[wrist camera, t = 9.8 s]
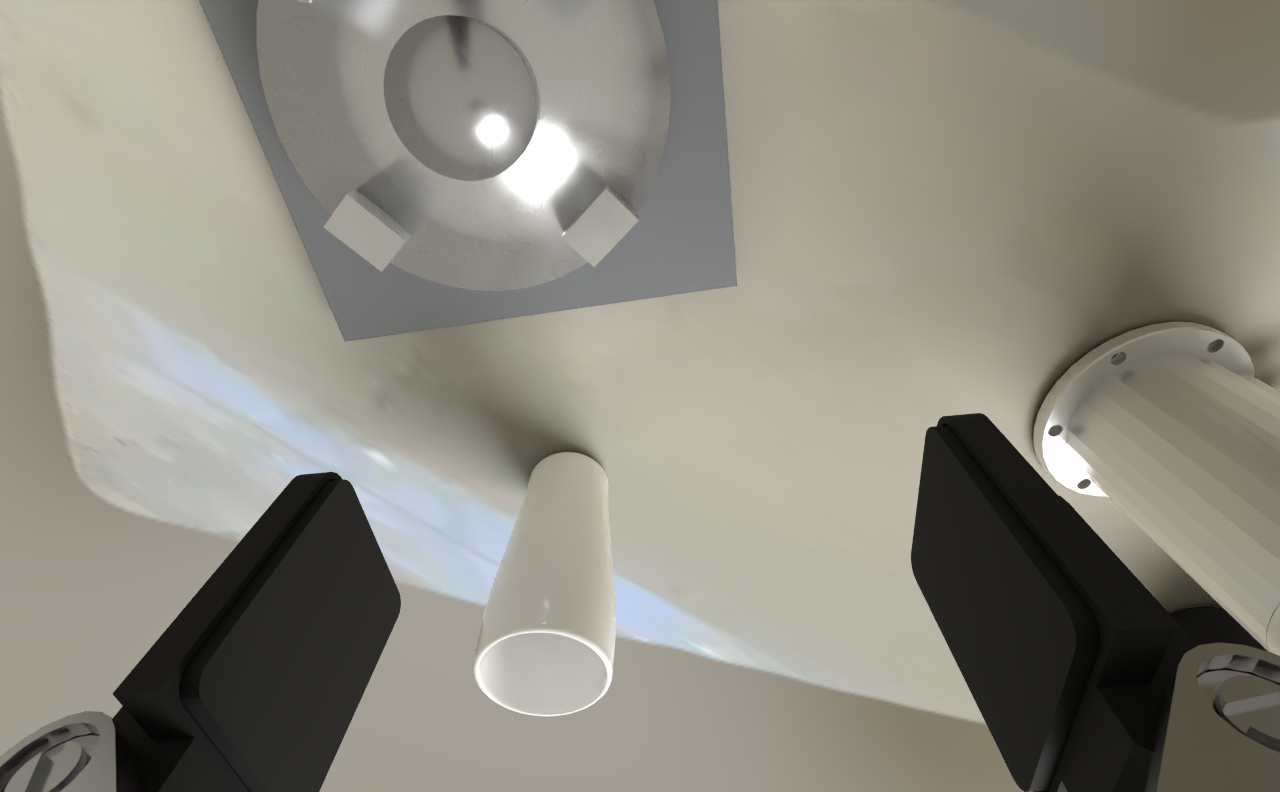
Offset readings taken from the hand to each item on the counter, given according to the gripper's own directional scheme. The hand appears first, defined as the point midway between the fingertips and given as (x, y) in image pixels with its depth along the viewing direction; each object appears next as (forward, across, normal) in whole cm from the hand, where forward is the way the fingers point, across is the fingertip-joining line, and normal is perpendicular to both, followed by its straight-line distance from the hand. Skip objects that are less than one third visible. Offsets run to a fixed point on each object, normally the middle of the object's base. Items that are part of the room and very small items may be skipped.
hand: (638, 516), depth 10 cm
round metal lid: (+23, +7, -6) cm, 25 cm away
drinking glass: (+26, +8, +18) cm, 33 cm away
